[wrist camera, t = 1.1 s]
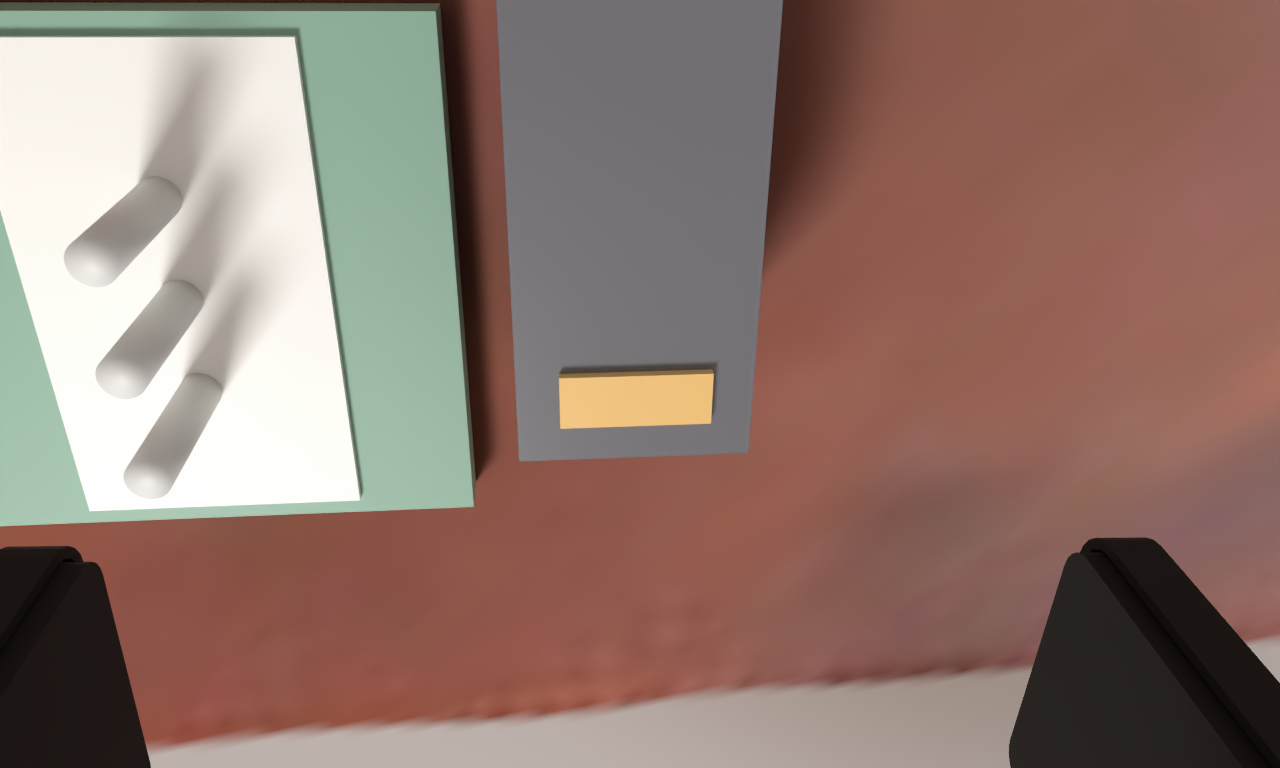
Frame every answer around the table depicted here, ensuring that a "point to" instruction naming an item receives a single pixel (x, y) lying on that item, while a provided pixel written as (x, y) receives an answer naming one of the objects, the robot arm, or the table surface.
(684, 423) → the block
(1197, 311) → the table surface
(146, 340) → the header board
